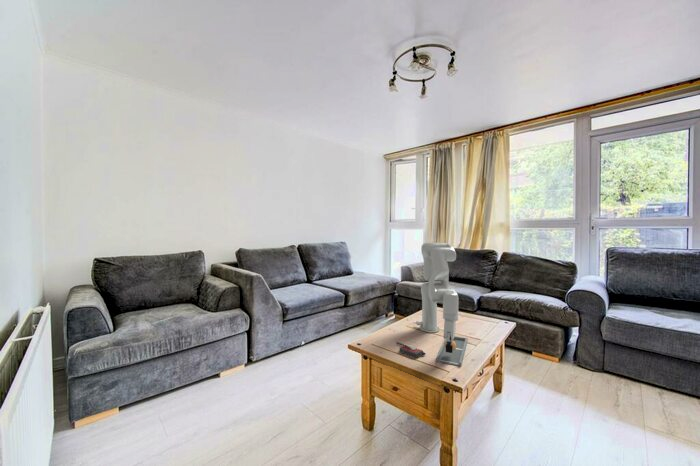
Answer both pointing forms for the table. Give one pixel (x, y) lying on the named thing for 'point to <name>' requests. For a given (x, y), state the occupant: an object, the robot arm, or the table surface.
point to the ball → (452, 345)
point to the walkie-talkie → (411, 350)
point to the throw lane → (453, 352)
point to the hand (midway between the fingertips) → (449, 349)
